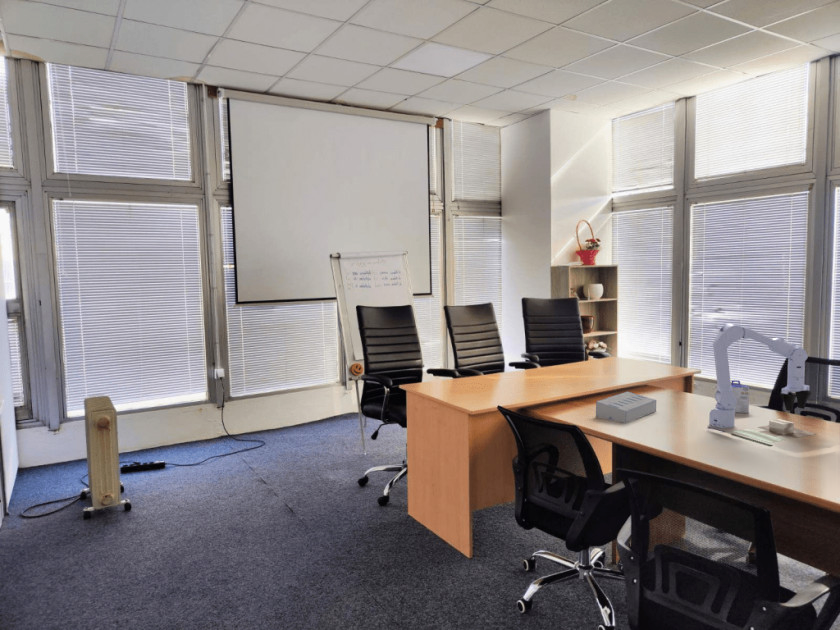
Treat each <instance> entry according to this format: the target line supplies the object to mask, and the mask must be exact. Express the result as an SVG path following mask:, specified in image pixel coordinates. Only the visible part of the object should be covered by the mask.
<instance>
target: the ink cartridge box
mask: <svg viewBox="0 0 840 630" xmlns="http://www.w3.org/2000/svg"><path fill="white" fill-rule="evenodd" d="M730 381H731V387H732V389H733V394H734V396H735V398H736V400H737V404H736V406H735V413H740V414H742V413H743V414H744V413H746V414H748V413H749V410H750V409H749V408H750V387H749V386H748V385H745V384H744V385H743V384H742V385H741V381H740V380H735V379H734V380H733V379H730Z"/></svg>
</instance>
